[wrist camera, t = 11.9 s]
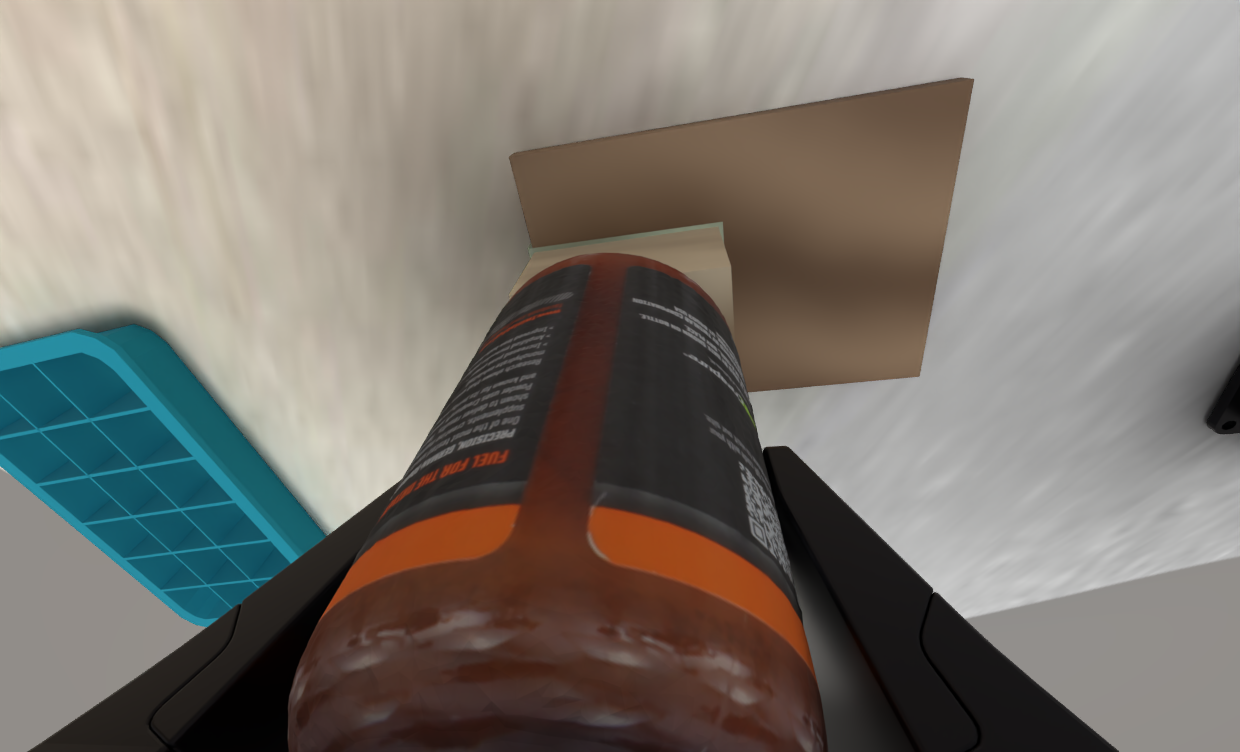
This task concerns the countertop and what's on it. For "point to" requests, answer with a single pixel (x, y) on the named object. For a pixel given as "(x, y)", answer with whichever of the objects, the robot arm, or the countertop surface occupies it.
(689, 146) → the board
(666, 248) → the beech block
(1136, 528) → the countertop surface
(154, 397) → the ice cube tray
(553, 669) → the supplement bottle
